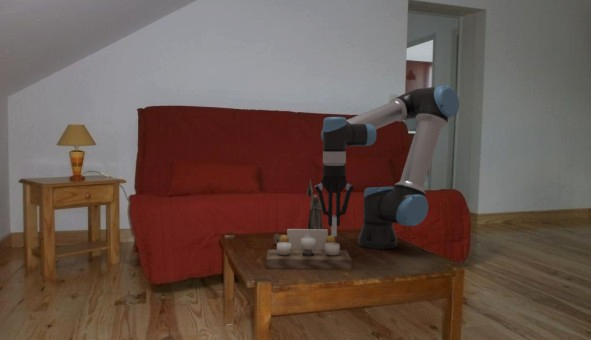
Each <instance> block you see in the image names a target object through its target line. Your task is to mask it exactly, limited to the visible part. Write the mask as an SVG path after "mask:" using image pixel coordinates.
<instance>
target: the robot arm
mask: <svg viewBox="0 0 591 340" xmlns="http://www.w3.org/2000/svg"><path fill="white" fill-rule="evenodd" d="M459 109H460V100H459V96H458V93H457V91H456V90H455V89H454V88H453V87H452V86H450V85H436V86H431V87H429V86H428V87H424V88H416V89H413V90H410V91H408V92H405V93H403V94H401V95H399V96H396V97H394V98H392V99H391V100H389V102H388V103H386V104H383V105H381V106H378V107H376V108H373V109H371V110H368V111H365V112H363V113H360V114H358V115H356V116H353V117H351V118H348V119H347V118H346V117H344V116H328V117H325V118H323V123H322V129H321V132H320V137H321V140H322V163H323V164H324V165H323V166H322V179H321V181H320V183H319V184H316V185H314V189H315V190H316V192H317V196H318V199H319V201H320V203H321V207H322V210H321V213H323V215H325V216H327V224H328V226H329V227H331V229H330V232H331V233H330V235H331V236H332V237H334V238H336V237H337V236H338V233H337V228H338V227H340V226H341V216H343V215H346V213H347V209H348V206H349V200H350V197H351V193H352V192H353V191H354V188H355V186H353V185H352V184H350V183H348V180H347V177H346V176H347V173H346V172H347V170H346V169H347V166H346V165H345V164H346V163H347V147H367V146H372V145H373V144H374V143H376V140H377V130H378V129H379V128H380V129H381V128H382V127H383V128H384V127H385V126H387V125H390V124H392V123H394V122H399V123H400V122H403V121H406V120H411V119H416V120H417V125H416V129H415V133H414V135H413V138H412V142H411V145H410V147H409V151H408V154H407V157H406V161H405V164H404V166H403V167H404V168H403V171H402V174H401V177H400V181H398V182H396V183H394V185H393V186H382V187H381V186H379V187H367V188H365V189H364V193H363V198H362V199H363V209H362V210H363V220H362V221H363V223H362V227H361V230H360V232H359V236H358V242H357V244H358V245H359V246H361V247H364V248H367V249H374V250H375V249H376V250H388V249H389V250H390V249H395V248H397V246H398V238H397V235H396V231H395V228H394V224H399V225H402V226H407V227H408V226H409V227H415V226H418V225H419V224H421V223H422V222H423V221H424V220H425V219H426V218H427V215H428V213H429V212H428V211H429V203H428V200H427V198H426V195H427V193H426V191H425V189H424V186H425V183H426V180H427V176H428V174H429V170H430V167H431V163H432V160H433V156H434V153H435V150H436V146H437V143H438V141H439V136H440V132H441V130H442V128H444V127H446V126H447V125H448V122H449V119H450V118H453V117H454V116H455V115H457V113H458V112H459ZM323 188H324V189H325V190H326V192H327V206H326V204H325V200H324V194H323ZM344 189H345V190H346V191H345V194H344V198H343V203H342V205H341V192H342V191H343V190H344ZM333 193H334V194H335V215H333V196H334V195H333ZM326 207H327V208H326Z"/></svg>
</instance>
